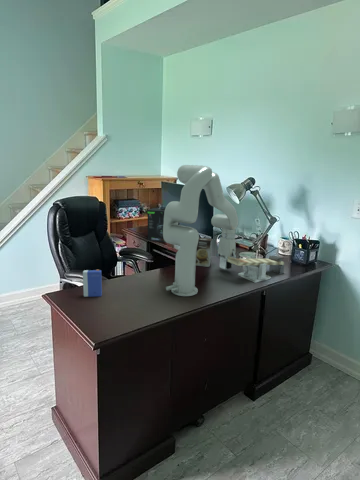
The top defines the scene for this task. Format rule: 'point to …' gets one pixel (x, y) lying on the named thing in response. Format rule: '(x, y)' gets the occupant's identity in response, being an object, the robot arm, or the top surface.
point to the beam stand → (259, 272)
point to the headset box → (156, 224)
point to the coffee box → (203, 252)
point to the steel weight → (223, 262)
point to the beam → (256, 261)
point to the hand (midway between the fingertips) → (225, 266)
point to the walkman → (92, 283)
